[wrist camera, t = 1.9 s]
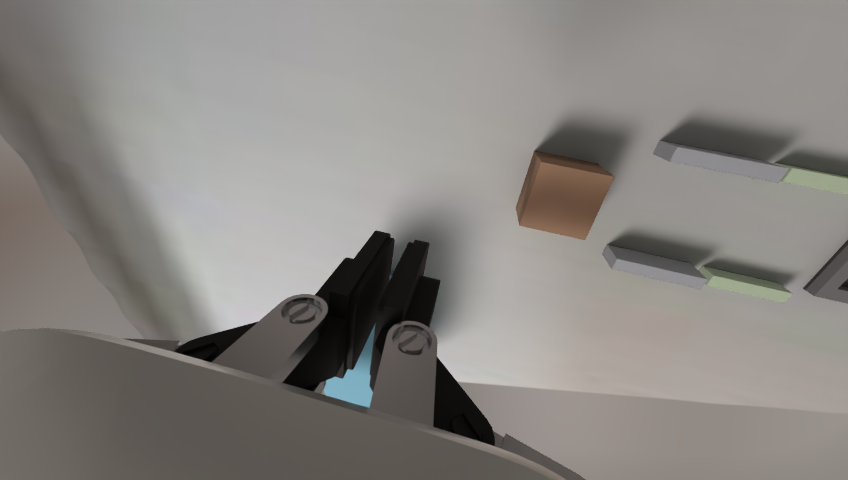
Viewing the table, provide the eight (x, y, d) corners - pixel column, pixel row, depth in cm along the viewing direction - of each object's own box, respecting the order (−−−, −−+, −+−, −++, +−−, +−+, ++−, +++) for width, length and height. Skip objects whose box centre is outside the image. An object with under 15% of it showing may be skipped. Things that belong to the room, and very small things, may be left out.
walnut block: (534, 150, 26) (541, 161, 22) (597, 163, 25) (614, 176, 22) (515, 207, 28) (519, 225, 24) (573, 219, 27) (585, 240, 24)
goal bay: (774, 162, 23) (792, 168, 21) (866, 180, 22) (889, 186, 21) (695, 275, 27) (706, 285, 26) (769, 292, 27) (783, 303, 26)
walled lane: (659, 140, 23) (677, 146, 21) (760, 159, 23) (788, 168, 21) (602, 254, 28) (611, 269, 26) (683, 272, 28) (700, 289, 25)
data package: (368, 266, 34) (313, 352, 23) (409, 270, 33) (372, 360, 22) (377, 349, 39) (336, 448, 29) (413, 354, 38) (384, 458, 28)
